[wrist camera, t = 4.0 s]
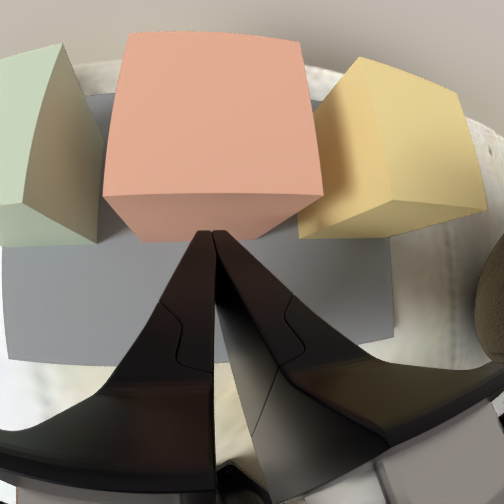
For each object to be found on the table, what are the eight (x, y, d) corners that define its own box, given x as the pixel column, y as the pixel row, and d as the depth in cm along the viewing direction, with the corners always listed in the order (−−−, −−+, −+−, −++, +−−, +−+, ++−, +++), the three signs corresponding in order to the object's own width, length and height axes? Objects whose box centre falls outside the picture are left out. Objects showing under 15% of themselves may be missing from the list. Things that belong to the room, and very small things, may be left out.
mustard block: (384, 238, 19) (488, 210, 10) (299, 238, 17) (393, 199, 9) (371, 151, 19) (456, 93, 11) (290, 141, 18) (359, 56, 10)
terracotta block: (255, 239, 17) (323, 195, 8) (142, 242, 15) (102, 196, 7) (249, 139, 17) (299, 42, 9) (146, 138, 16) (129, 33, 8)
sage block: (97, 244, 15) (22, 202, 7) (8, 248, 13) (-89, 218, 5) (104, 141, 15) (62, 42, 7) (20, 151, 14) (-50, 79, 6)
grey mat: (383, 335, 19) (393, 337, 18) (17, 355, 14) (8, 359, 13) (358, 117, 21) (366, 110, 20) (32, 114, 16) (25, 106, 14)
